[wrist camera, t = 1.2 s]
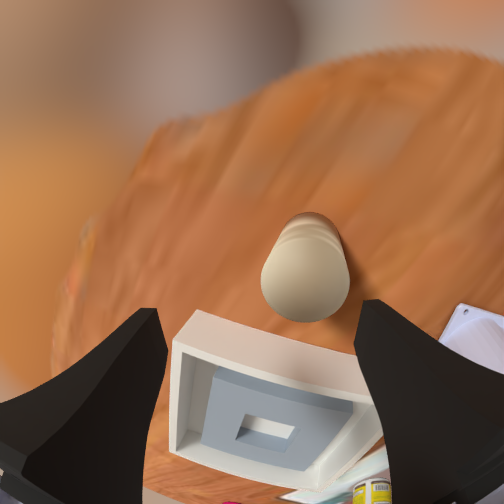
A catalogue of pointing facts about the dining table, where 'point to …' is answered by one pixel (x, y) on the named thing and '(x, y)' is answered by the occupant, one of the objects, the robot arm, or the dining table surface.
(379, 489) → the supplement bottle
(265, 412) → the bore plate
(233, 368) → the tray
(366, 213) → the dining table surface
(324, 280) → the peg
